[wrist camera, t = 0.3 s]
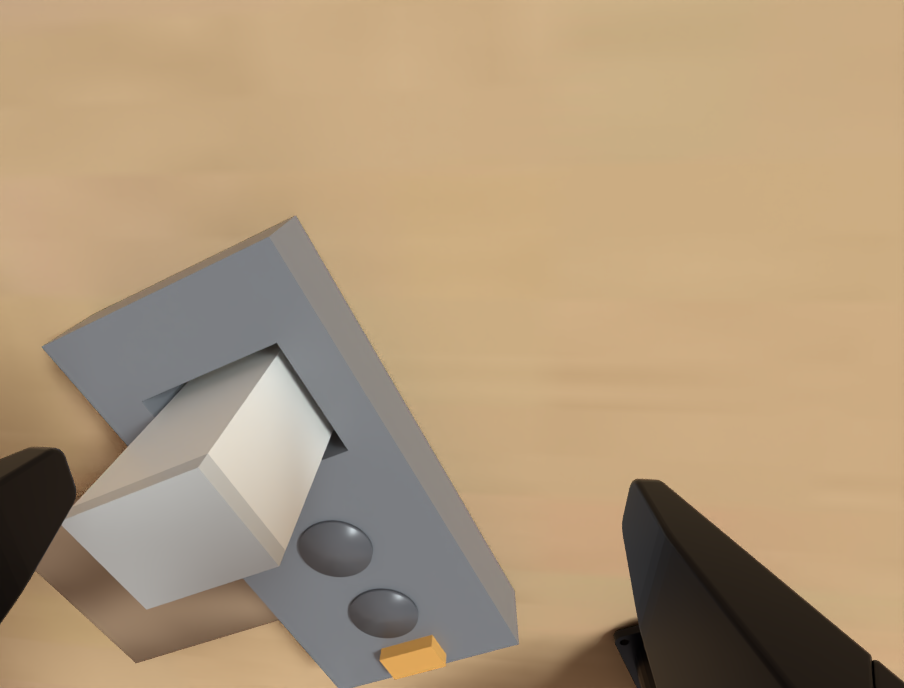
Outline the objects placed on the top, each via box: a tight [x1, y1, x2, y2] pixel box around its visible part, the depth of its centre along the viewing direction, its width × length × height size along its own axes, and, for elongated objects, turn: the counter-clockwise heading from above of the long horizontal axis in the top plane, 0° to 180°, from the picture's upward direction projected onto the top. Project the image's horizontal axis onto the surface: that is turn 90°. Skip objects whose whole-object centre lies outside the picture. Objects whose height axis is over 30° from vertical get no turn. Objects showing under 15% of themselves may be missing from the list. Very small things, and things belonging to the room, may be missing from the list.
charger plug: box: [62, 343, 334, 610], centre depth 20 cm, size 4×5×9 cm
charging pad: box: [35, 496, 279, 663], centre depth 29 cm, size 11×11×1 cm
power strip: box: [42, 216, 519, 688], centre depth 24 cm, size 22×10×4 cm, turn 25°
